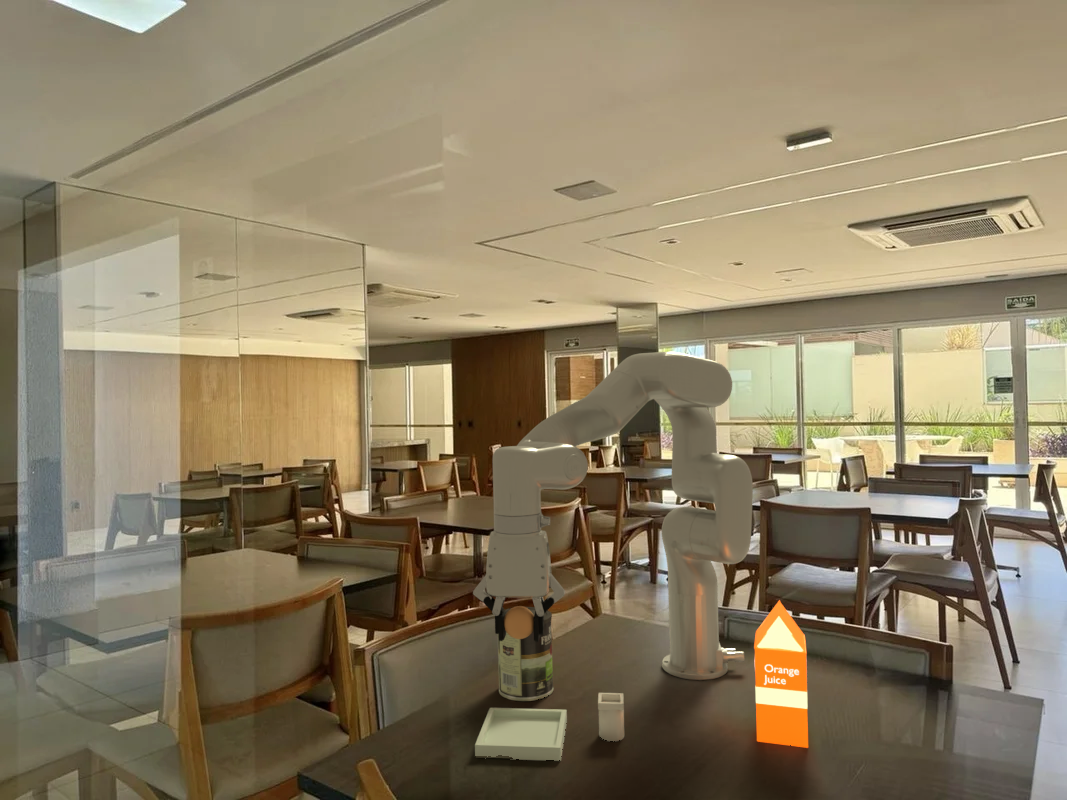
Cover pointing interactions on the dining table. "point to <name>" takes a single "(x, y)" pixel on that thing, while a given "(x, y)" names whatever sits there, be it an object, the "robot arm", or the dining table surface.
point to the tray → (523, 734)
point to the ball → (519, 622)
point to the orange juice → (781, 680)
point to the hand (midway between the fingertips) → (519, 637)
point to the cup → (611, 716)
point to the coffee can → (526, 664)
